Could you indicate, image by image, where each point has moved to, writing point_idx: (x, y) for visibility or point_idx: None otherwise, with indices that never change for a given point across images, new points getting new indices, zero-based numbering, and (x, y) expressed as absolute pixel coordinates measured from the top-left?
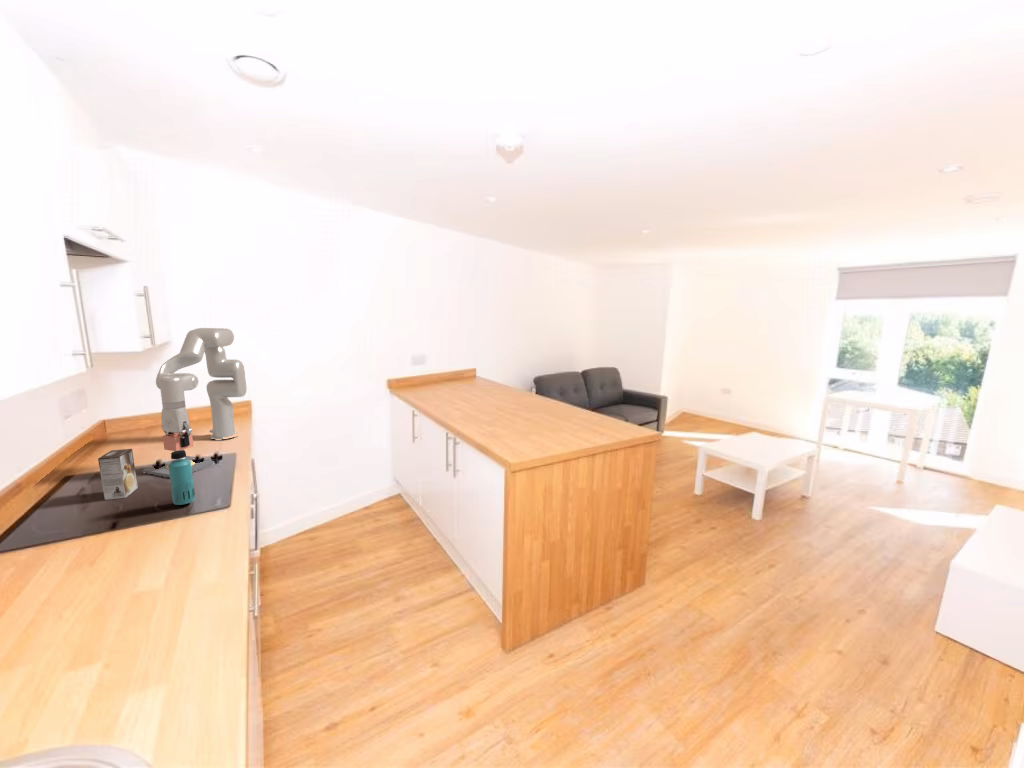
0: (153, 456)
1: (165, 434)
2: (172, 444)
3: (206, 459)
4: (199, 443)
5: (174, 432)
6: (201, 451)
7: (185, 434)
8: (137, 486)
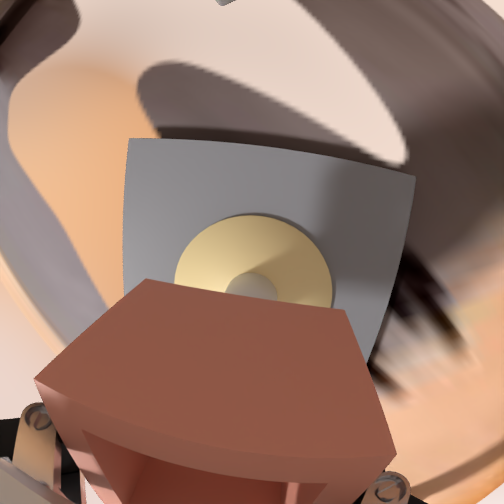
0: (493, 367)
1: (408, 490)
2: (166, 330)
3: None
4: (407, 478)
5: (34, 489)
6: None
7: None
8: (218, 1)
